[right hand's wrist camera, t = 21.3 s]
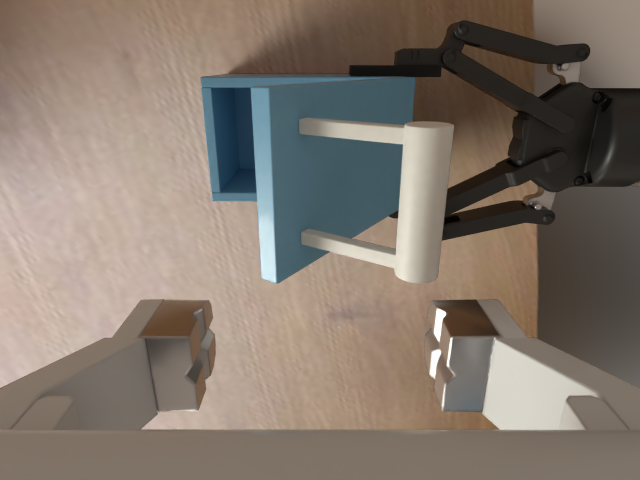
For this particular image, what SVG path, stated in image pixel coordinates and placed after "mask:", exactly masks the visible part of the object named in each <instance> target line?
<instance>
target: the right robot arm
mask: <svg viewBox="0 0 640 480" xmlns="http://www.w3.org/2000/svg"><path fill="white" fill-rule="evenodd" d="M212 319H213V314H212V306H211V303H210V302H209V300H164V299H150V300H141V301H140V302H139V303H138V304H137V306H136V307H135V308H134V310H133V311H132V312H131V313H130V315H129V316H128V317H127V319H126V320H125V321H124V323H123V324H122V325H121V326H120V328H119V329H118V330H117V332H116V333H115V334H114V336H113V337H112V338H103V339H101V340H99V341H97V342H95V343H93V344H91V345H89V346H87V347H85V348H83V349H81V350H79V351H76V352H74V353H72V354H70V355H68V356H66V357H64V358H62V359H60V360H58V361H56V362H54V363H51V364H49V365H47V366H45V367H43V368H41V369H39V370H37V371H35V372H33V373H31V374H29V375H27V376H24V377H22V378H20V379H18V380H16V381H14V382H12V383H10V384H8V385H6V386H4V387H2V388H0V480H640V388H638V387H636V386H634V385H632V384H630V383H628V382H626V381H624V380H621V379H619V378H617V377H615V376H613V375H611V374H609V373H607V372H605V371H603V370H601V369H599V368H597V367H595V366H592V365H590V364H588V363H586V362H584V361H582V360H580V359H578V358H576V357H574V356H572V355H570V354H568V353H566V352H563V351H561V350H559V349H557V348H555V347H553V346H551V345H549V344H547V343H545V342H543V341H541V340H539V339H537V338H528V337H527V336H526V334H525V333H524V332H523V330H522V329H521V328H520V327H519V325H518V324H517V323H516V321H515V320H514V319H513V318H512V316H511V315H510V314H509V312H508V311H507V310H506V308H505V307H504V306H503V305H502V303H501V302H500V301H499V300H497V299H485V300H438V301H430V303H429V307H428V313H427V319H428V321H429V324H430V326H431V329H430V330H429V331H428V332H427V333H426V334H425V345H424V351H425V362H426V367H427V370H428V374H429V376H431V377H432V378H434V379H435V383H434V391H435V394H436V396H437V399H438V402H439V405H440V407H441V410H442V411H462V412H482V414H483V415H484V416H485V417H486V418H487V419H489V420H490V421H491V422H492V423H493V424H494V425H495V426H497V427H498V428H499V429H500V430H140V429H141V428H143V427H144V426H145V425H146V424H147V423H148V422H149V421H150V420H152V419H153V418H154V417H155V416H156V415H157V414H158V413H157V412H177V411H198V410H199V408H200V405H201V402H202V399H203V396H204V394H205V391H206V384H205V379H206V378H208V377H209V376H211V373H212V370H213V367H214V361H215V355H216V343H215V334H214V333H213V332H212V331H211V330H210V329H209V326H210V324H211V321H212Z"/></svg>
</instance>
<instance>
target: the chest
mask: <svg viewBox="0 0 640 480" xmlns="http://www.w3.org/2000/svg"><path fill="white" fill-rule="evenodd" d="M394 77H404V76H349V74H222V75H214V76H205V77H201V86H202V99H203V110H204V120H205V131H206V141H207V152H208V162H209V173H210V183H211V192H212V201H257V190H256V172H255V154H254V137H253V119H252V101H251V87H253V86H267V85H283V84H299V83H315V82H331V81H347V80H362V79H378V78H394Z"/></svg>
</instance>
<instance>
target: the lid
mask: <svg viewBox="0 0 640 480" xmlns="http://www.w3.org/2000/svg"><path fill="white" fill-rule="evenodd" d="M415 79H416V78H415V77H394V78H378V79H362V80H347V81H331V82H315V83H299V84H283V85H267V86H253V87H251V101H252V119H253V137H254V154H255V172H256V190H257V208H258V226H259V244H260V262H261V278H262V279H264V280H267V281H270V282H273V283H276V284H277V283H280V282H281V281H283V280H284V279H286V278H288V277H289V276H291V275H293V274H294V273H296V272H298V271H299V270H301V269H302V268H304V267H306V266H307V265H309V264H311V263H312V262H314V261H316V260H317V259H319V258H320V257H322V256H324V255H325V254H327V253H329V252H333V253H337V254H341V255H345V256H349V257H353V258H356V259H360V260H364V261H368V262H372V263H376V264H379V265H383V266H387V267H391V268H395V275H396V276H397V277H398V278H400V279H402V280H404V281H407V282H411V283H429V282H432V281H434V280H436V278H437V277H438V270H439V261H440V252H441V243H442V234H443V225H444V215H445V206H446V197H447V188H448V179H449V170H450V160H451V151H452V142H453V133H454V125H453V124H450V123H444V122H432V121H418V122H412V120H413V106H414V93H415ZM397 210H399V213H398V228H397V242H396V249H394V248H389V247H385V246H381V245H377V244H372V243H368V242H364V241H360V240H355V239H352V238H353V237H355V236H356V235H358V234H360V233H361V232H363V231H365V230H366V229H368V228H370V227H371V226H373V225H374V224H376V223H378V222H379V221H381V220H383V219H384V218H386V217H388V216H389V215H391V214H392V213H394V212H396V211H397Z"/></svg>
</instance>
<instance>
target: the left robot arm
mask: <svg viewBox="0 0 640 480" xmlns="http://www.w3.org/2000/svg"><path fill="white" fill-rule="evenodd" d="M464 44H466V45H470V46H473V47H477V48H481V49H484V50H488V51H492V52H495V53H499V54H503V55H506V56H510V57H513V58H517V59H521V60H524V61H528V62H532V63H538V64H547V70H548V72H549V73H550V74H553V75H557V76H558V77H559V79H560V83H559V84H557V85H556V86H554V87H553V88H552V89H550V90H548V91H547V92H546V93H544V94H543V95H541V96H539V97H536V96H535V95H533V94H531V93H528V92H526V91H524V90H523V89H521V88H519V87H518V86H516V85H514V84H513V83H511V82H509V81H508V80H506V79H504V78H503V77H501V76H499V75H498V74H496V73H494V72H493V71H491V70H489V69H488V68H486V67H484V66H483V65H481V64H479V63H478V62H476V61H474V60H473V59H471V58H469V57H468V56H466V55H464V54H463V53H461V51H462V49H463V46H464ZM589 54H590V48H589V46H588V45H587V44H569V45H559V46H555V45H552V44H548V43H545V42H541V41H537V40H534V39H530V38H527V37H523V36H519V35H516V34H512V33H509V32H505V31H502V30H498V29H494V28H491V27H487V26H484V25H480V24H477V23H473V22H469V21H460V22H457V23H454V24H451V25H450V26H449V27H448V29H447V34H446V37H445V39H444V41H443V43H442V45H441V46H440V47H438V48H436V49H401V50H398V51H396V52H395V60H394V65H350V68H349V76H404V77H441V67H443V68H444V69H446V70H448V71H449V72H451V73H453V74H455V75H456V76H458V77H460V78H461V79H463V80H465V81H466V82H468V83H470V84H472V85H473V86H475V87H477V88H478V89H480V90H482V91H483V92H485V93H487V94H489V95H490V96H492V97H494V98H495V99H497V100H499V101H500V102H502V103H504V104H505V105H506V106H508V107H509V108H511V109H513V110H514V111H516V112H518V115H517V117H514V119H513V125H512V128H513V138H512V141H511V143H510V145H509V150H508V156H510V157H509V158H507V159H505V160H503V161H501V162H499V163H497V164H496V165H495V167H493V168H491V169H489V170H487V171H484V172H482V173H480V174H478V175H476V176H474V177H472V178H470V179H467V180H465V181H463V182H461V183H459V184H457V185H455V186H453V187H451V188H448V189H447V197H446V206H445V215H444V225H443V234H442V240H447V239H451V238H456V237H461V236H465V235H470V234H475V233H479V232H484V231H489V230H493V229H498V228H503V227H507V226H512V225H517V224H521V223H534V224H543V225H548V224H551V223H552V222H553V221H554V219H555V214H554V213H553V212H552V211H551V207H552V204H553V201H554V198H555V195H556V192H559V191H562V190H563V189H566V188H568V187H573V186H590V187H624V186H629V185H631V186H635V187H640V88H588V87H586V86H585V85H583V84H582V83H580V82H579V80H580V71H581V61H584V60H586V59H587V58H588V56H589ZM529 180H532V181H533V182H534V183H535V184H537V185H538V186H539V187H540V188H539V190H538V192H536V193H535V194H531V195H527V196H525V197H524V198H523V201H519V200H518V201H509V202H504V203H499V204H495V205H490V206H486V207H481V208H476V209H472V210H467V211H463V212H458V213H454V212H456V211H458V210H460V209H463V208H465V207H467V206H469V205H471V204H473V203H476V202H478V201H480V200H482V199H484V198H486V197H489V196H491V195H493V194H495V193H497V192H499V191H502V190H504V189H506V188H508V187H511V186H518V185H521V184H523V183H525V182H527V181H529ZM398 213H399V210H397V211H396V212H394V213H392V214H391V215H389V217H392V218H398ZM452 213H454V214H452Z"/></svg>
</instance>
